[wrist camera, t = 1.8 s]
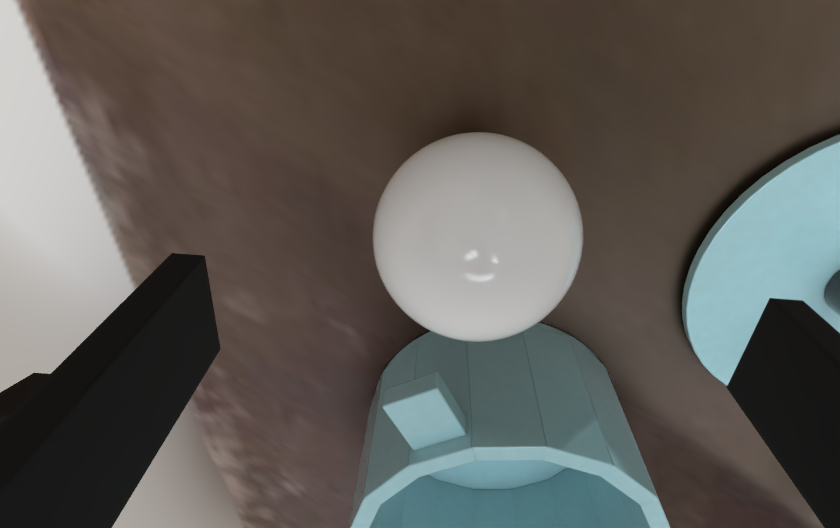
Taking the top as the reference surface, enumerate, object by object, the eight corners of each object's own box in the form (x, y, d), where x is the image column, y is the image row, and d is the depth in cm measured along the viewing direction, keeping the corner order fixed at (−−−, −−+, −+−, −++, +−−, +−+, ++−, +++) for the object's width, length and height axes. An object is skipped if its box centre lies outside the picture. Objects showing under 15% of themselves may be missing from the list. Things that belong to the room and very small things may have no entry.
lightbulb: (458, 50, 20) (468, 116, 11) (570, 147, 22) (664, 280, 12) (367, 168, 23) (310, 307, 13) (473, 247, 25) (490, 419, 15)
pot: (551, 235, 24) (597, 349, 17) (652, 481, 32) (712, 630, 25) (303, 333, 28) (251, 462, 20) (452, 532, 36) (453, 674, 29)
